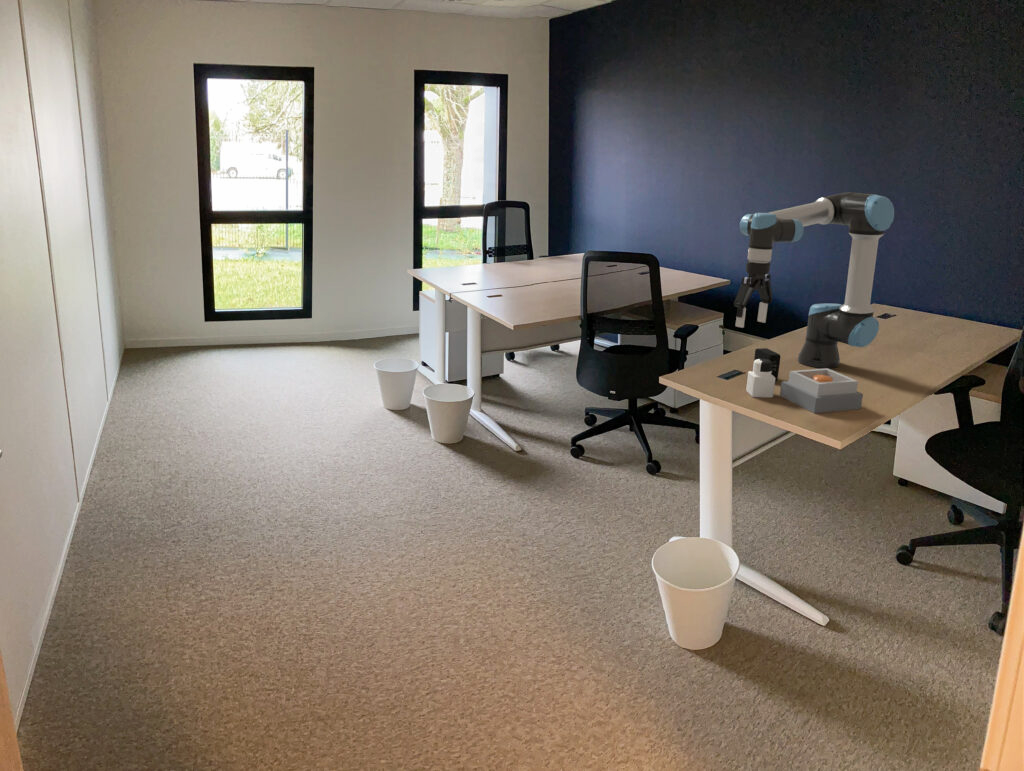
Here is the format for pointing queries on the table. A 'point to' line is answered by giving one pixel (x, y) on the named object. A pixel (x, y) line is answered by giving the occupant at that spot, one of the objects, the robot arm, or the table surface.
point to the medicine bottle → (761, 379)
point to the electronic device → (771, 356)
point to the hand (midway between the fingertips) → (750, 324)
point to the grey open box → (821, 391)
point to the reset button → (822, 378)
